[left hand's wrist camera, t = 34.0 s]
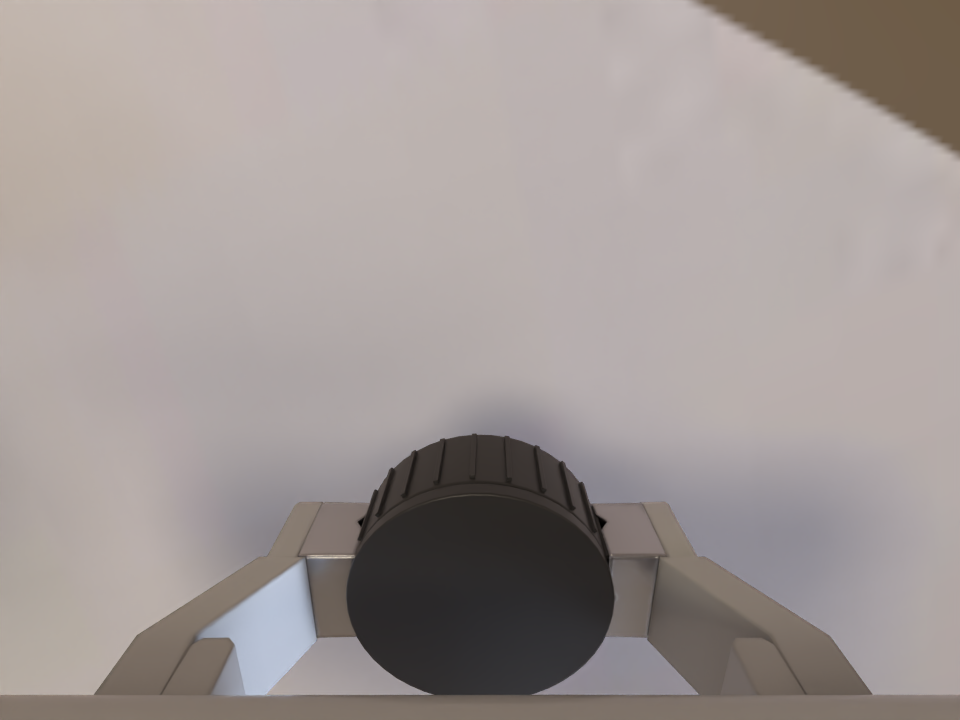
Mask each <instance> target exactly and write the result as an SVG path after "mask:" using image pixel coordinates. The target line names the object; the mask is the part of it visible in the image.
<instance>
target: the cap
mask: <svg viewBox="0 0 960 720" xmlns="http://www.w3.org/2000/svg"><path fill="white" fill-rule="evenodd" d="M601 530H602V529H601V526H600V523H599V519H598V517H596V516H595V513H594V510H593V506H591V504H590V502H589V499H588V496H587V493H586V489H585V486H584V484H583V482H579V481H578V480H577V479H576V477H575V476H574V475H573V474H572V472H570V471H569V470H568V469H567V468H566V465H565V463H564V462H563V461H561V462H560V461H558V460H557V459H555V458H554V457H553V456H551V455H550V454H548V453H546V452H544V451H543V450H541V449H540V447H539V446H537V445H535V446H533V445H530V444H527V443H525V442H522V441H519V440H515V439H511V438H509V436H505V437H501V436H494V435H477V434H472V435H468V436H459V437H454V438H450V439H445V438H443V439H440V441H439V442H436V443H433V444H430V445H428V446H426V447H424V448H422V449H420V450H418V451H416V450H414V451H413V452H412V453H411V455H410V456H409V457H407V458H406V459H404V460H403V461H402V462H401V463H400V464H399V465H397V466H396V467H395V468H394V469H393V468H391V469H390V470H389V472H388V475H387V477H386V478H385V480H384V481H383V483H382V484H381V486H380V488H379V489H378V490H375V491H374V492H373V495H372V498H371V501H370V504H369V507H368V510H367V513H366V515H365V518H364V521H363V524H362V527H361V530H360V533H359V536H358V539H357V540H358V541H360V542H359V545H358V548H357V551H356V554H355V557H354V559H353V562H352V565H351V568H350V572H349V576H348V580H347V588H346V602H347V611H348V614H349V618H350V622H351V625H352V627H353V629H354V632H355V634H356V636H357V638H358V639H359V641H360V643H361V644H362V646H363V647H364V649H365V650H366V651H367V652H368V653H369V655H370V656H371V657H372V658H373V659H374V660H375V661H376V662H377V663H378V664H379V665H380V666H381V667H382V668H384V669H385V670H386V671H388V672H389V673H390V674H392V675H393V676H395V677H396V678H398V679H399V680H401V681H403V682H405V683H407V684H408V685H410V686H413V687H415V688H417V689H420V690H422V691H424V692H427V693H431V694H434V695H531V694H535V693H537V692H540V691H543V690H545V689H548V688H550V687H552V686H554V685H556V684H558V683H560V682H562V681H563V680H565V679H566V678H568V677H569V676H571V675H572V674H574V673H575V672H576V671H577V670H579V669H580V668H581V667H582V666H583V665H585V664H586V662H587V661H588V660H589V659H590V658H591V657H592V656H593V655H594V654H595V652H596V651H597V649H598V648H599V647H600V645H601V644H602V642H603V640H604V638H605V636H606V634H607V632H608V630H609V627H610V623H611V620H612V617H613V610H614V602H615V601H614V586H613V581H612V577H611V573H610V569H609V566H608V563H607V559H608V552H607V549H606V546H605V543H604V540H603V537H602V534H601Z"/></svg>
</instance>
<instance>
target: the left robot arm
mask: <svg viewBox="0 0 960 720" xmlns="http://www.w3.org/2000/svg"><path fill="white" fill-rule="evenodd" d="M369 504H370V503H344V502H325V503H323V502H299V503H297V504H296V505H295V506H294V508H293V510H292V511H291V513H290V515H289V517H288V519H287V521H286V523H285V524H284V526H283V528H282V530H281V532H280V534H279V536H278V537H277V539H276V541H275V543H274V545H273V547H272V549H271V550H270V552H269V554H268V556H267V557H258V558H257V559H255V560H254V561H252V562H251V563H249V564H247V565H246V566H244V567H243V568H241V569H240V570H238V571H237V572H235V573H233V574H232V575H230V576H229V577H227V578H226V579H224V580H223V581H221V582H219V583H218V584H216V585H215V586H213V587H212V588H210V589H208V590H207V591H205V592H204V593H202V594H201V595H199V596H198V597H196V598H194V599H193V600H191V601H190V602H188V603H187V604H185V605H184V606H182V607H180V608H179V609H177V610H176V611H174V612H173V613H171V614H169V615H168V616H166V617H165V618H163V619H162V620H160V621H159V622H157V623H155V624H154V625H152V626H151V627H149V628H148V629H146V630H145V631H143V632H141V633H140V634H138V635H137V636H136V637H135V639H134V640H133V641H132V643H131V644H130V646H129V647H128V648H127V650H126V651H125V653H124V654H123V655H122V657H121V658H120V659H119V661H118V662H117V664H116V665H115V666H114V668H113V669H112V670H111V672H110V673H109V675H108V676H107V677H106V679H105V680H104V682H103V683H102V684H101V686H100V687H99V688H98V690H97V691H96V693H95V694H94V695H0V720H960V695H873V694H872V693H871V692H870V690H869V689H868V688H867V686H866V685H865V683H864V682H863V681H862V679H861V678H860V677H859V675H858V674H857V673H856V671H855V670H854V668H853V667H852V666H851V664H850V663H849V662H848V660H847V659H846V657H845V656H844V655H843V653H842V652H841V651H840V649H839V648H838V647H837V645H836V644H835V642H834V641H833V640H832V638H831V637H830V636H829V635H827V634H826V633H824V632H823V631H821V630H819V629H818V628H816V627H815V626H813V625H812V624H810V623H808V622H807V621H805V620H804V619H802V618H801V617H799V616H797V615H796V614H794V613H793V612H791V611H790V610H788V609H786V608H785V607H783V606H782V605H780V604H779V603H777V602H775V601H774V600H772V599H771V598H769V597H768V596H766V595H765V594H763V593H761V592H760V591H758V590H757V589H755V588H754V587H752V586H750V585H749V584H747V583H746V582H744V581H743V580H741V579H739V578H738V577H736V576H735V575H733V574H732V573H730V572H728V571H727V570H725V569H724V568H722V567H721V566H719V565H717V564H716V563H714V562H713V561H711V560H710V559H708V558H706V557H698V556H697V554H696V553H695V551H694V549H693V547H692V545H691V544H690V542H689V540H688V538H687V537H686V535H685V533H684V531H683V529H682V528H681V526H680V524H679V522H678V520H677V519H676V517H675V515H674V513H673V511H672V510H671V508H670V506H669V504H667V503H666V502H640V503H608V504H591V506H593V510H594V513H595V516H596V517H598V519H599V523H600V526H601V529H602V530H601V534H602V537H603V540H604V543H605V546H606V549H607V552H608V559H607V563H608V566H609V569H610V573H611V577H612V581H613V586H614V601H615V602H614V610H613V617H612V620H611V623H610V627H609V630H608V632H607V634H606V636H607V637H642V638H648V641H649V642H650V643H651V644H652V645H653V646H654V647H655V648H656V649H657V650H658V651H659V652H660V654H661V655H662V656H663V657H664V658H665V659H666V660H667V661H668V662H669V663H670V664H671V665H672V666H673V667H674V668H675V669H676V670H677V671H678V672H679V674H680V675H681V676H682V677H683V678H684V679H685V680H686V681H687V682H688V683H689V684H690V685H691V686H692V687H693V688H694V689H695V690H696V691H697V692H698V694H699V695H266V694H267V693H268V692H269V691H270V689H271V688H272V687H273V686H274V685H275V684H276V683H277V682H278V681H279V680H280V679H281V678H282V677H283V676H284V675H285V674H286V673H287V671H288V670H289V669H290V668H291V667H292V666H293V665H294V664H295V663H296V662H297V661H298V660H299V659H300V658H301V657H302V656H303V655H304V654H305V652H306V651H307V650H308V649H309V648H310V647H311V646H312V645H313V644H314V643H315V642H316V641H317V638H322V637H356V634H355V632H354V629H353V627H352V625H351V622H350V618H349V614H348V611H347V602H346V588H347V580H348V576H349V572H350V568H351V565H352V562H353V559H354V557H355V554H356V551H357V548H358V545H359V542H360V541H358V540H357V539H358V536H359V533H360V530H361V527H362V524H363V521H364V518H365V515H366V513H367V510H368V507H369Z"/></svg>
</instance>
